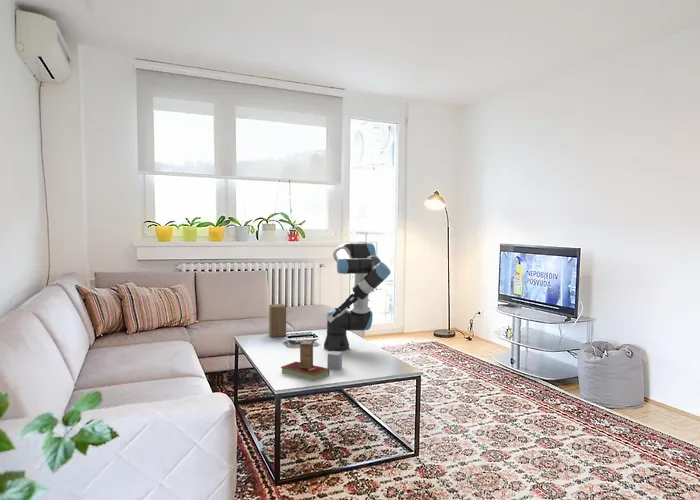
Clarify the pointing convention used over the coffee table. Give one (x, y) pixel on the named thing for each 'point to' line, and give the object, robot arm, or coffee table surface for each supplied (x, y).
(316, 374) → the hardcover book
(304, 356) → the walnut block
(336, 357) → the grey block
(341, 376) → the coffee table surface
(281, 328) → the block
